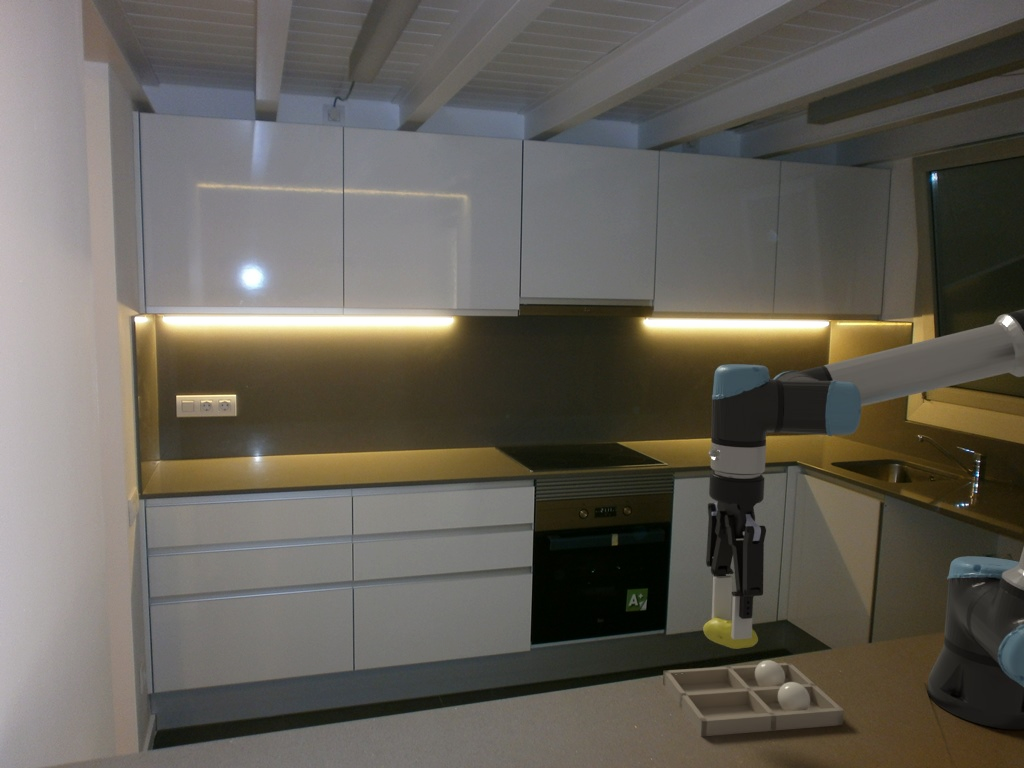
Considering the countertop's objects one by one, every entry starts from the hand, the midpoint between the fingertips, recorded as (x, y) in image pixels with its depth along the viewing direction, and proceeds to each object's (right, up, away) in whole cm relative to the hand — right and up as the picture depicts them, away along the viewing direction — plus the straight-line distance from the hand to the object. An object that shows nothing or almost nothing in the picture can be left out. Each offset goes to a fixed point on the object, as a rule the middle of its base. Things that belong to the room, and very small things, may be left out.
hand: (730, 627), depth 110 cm
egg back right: (+9, -13, +10) cm, 19 cm away
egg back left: (+10, -14, +3) cm, 17 cm away
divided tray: (+4, -14, +6) cm, 16 cm away
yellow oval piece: (0, -3, 0) cm, 3 cm away
